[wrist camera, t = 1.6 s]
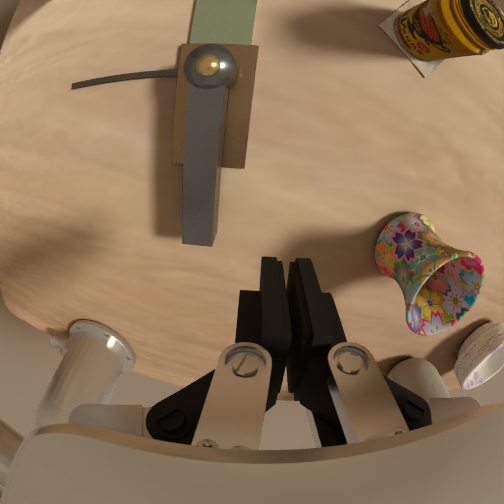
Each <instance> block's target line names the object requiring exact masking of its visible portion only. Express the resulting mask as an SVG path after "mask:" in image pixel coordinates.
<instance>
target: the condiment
mask: <svg viewBox="0 0 504 504" xmlns="http://www.w3.org/2000/svg"><path fill="white" fill-rule="evenodd" d="M379 27H380V28H381V29H382V30H383V31H384V32H385V33H386V34H387V35H388V36H389V37H390V38H391V39H392V40H393V41H394V42H395V43H396V44H397V46H398V47H399V48H400V49H401V50H402V51H403V52H404V53H405V54H406V56H407V57H408V58H409V59H410V60H411V61H412V62H413V63H414V64H415V66H416V67H417V68H418V69H419V70H420V71H421V73H422V74H423V75H424V77H425V78H427V77H428V76H429V75H430V74H431V73H432V71H433V70H434V69H435V68H436V67H437V66H438V65H439V64H440V63H441V62H442V61H443V60H444V59H447V58H454V57H462V56H472V55H482V54H485V53H487V52H489V50H495V49H504V16H503V15H502V13H501V11H500V10H499V8H498V7H497V6H496V5H495V4H494V2H493V1H492V0H426V1H424V2H423V1H422V0H409V1H408V2H407V3H406V4H404V5H403V6H402V7H400V8H399V9H398V10H397V11H395V12H394V13H393V14H392V15H390V16H389V17H388V18H387V19H386V20H384V21H383V22H382V23H381V24H380V25H379Z"/></svg>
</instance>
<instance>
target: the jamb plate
mask: <svg viewBox="0 0 504 504" xmlns="http://www.w3.org/2000/svg"><path fill="white" fill-rule="evenodd" d="M204 44H218V45H221V46H223V47H225V48H227V49H228V50H229V51H230V52H231V54H232V55H233V57H234V60H235V62H236V64H237V68H238V74H237V77H236V79H235V81H234V83H233V84H232V85H231V86H230V87H228V89H229V92H228V101H227V111H226V121H225V131H224V142H223V153H222V165H221V166H223V167H234V168H245V158H246V149H247V140H248V131H249V122H250V113H251V104H252V96H253V88H254V79H255V71H256V63H257V55H258V47H259V46H255V45H242V44H221V43H194V44H182V45H181V52H180V60H179V68H178V70H160V71H147V72H137V73H129V74H121V75H114V76H108V77H102V78H96V79H91V80H86V81H81V82H77V83H73V84H72V89H74V88H79V87H84V86H89V85H94V84H100V83H106V82H112V81H120V80H128V79H137V78H148V77H162V76H178V77H177V86H176V97H175V109H174V123H173V140H172V163H175V164H183V157H184V138H185V123H186V110H187V99H188V88H189V84H190V83H189V82H188V80H187V79H186V77H185V75H184V69H183V68H184V62H185V60H186V57H187V56H188V55H189V53H190V52H191V51H192V50H194V49H195V48H197V47H199V46H201V45H204Z"/></svg>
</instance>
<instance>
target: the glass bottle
mask: <svg viewBox="0 0 504 504" xmlns="http://www.w3.org/2000/svg"><path fill="white" fill-rule="evenodd" d="M387 378H389V379H391V380H392V381H394V382H396V383H398V384H399V385H401V386H403V387H405V388H406V389H408V390H410V391H412V392H414V393H415V394H417V395H419V396H420V397H422V398H423V399H424V400H425V401H427V400H428V399H429V398H450V396H449V394H448V392H447V390H446V388H445V386H444V383H443V381H442V379H441V377H440V375H439V373H438V371H437V370H436V368H435V367H434V366H433V365H432V364H431V363H430V362H428V361H427V360H424V359H421V358H411V359H406V360H404V361H402V362H400V363H398V364H397V365H395V366H394V368H393V369H392V370H391V371H390V372H389V374H388V376H387Z"/></svg>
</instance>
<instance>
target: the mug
mask: <svg viewBox="0 0 504 504" xmlns="http://www.w3.org/2000/svg"><path fill="white" fill-rule="evenodd" d="M375 260H376V264H377V266H378V268H379V270H380V271H381V272H382V273H383V274H385V275H386V276H388V277H391V278H393V279H394V280H396V282H397V283H398V284H399V286H400V288H401V290H402V292H403V295H404V299H405V305H406V321H407V324H408V326H409V328H410V329H411V330H412V331H413V332H414V333H416V334H419V335H433V334H437V333H440V332H442V331H444V330H446V329H448V328H450V327H451V326H453V325H454V324H456V323H457V322H458V321H459V320H460V319H462V318H463V317H464V316H465V315H466V313H467V312H468V311H469V310H470V309H471V307H472V306H473V304H474V303H475V301H476V300H477V298H478V296H479V294H480V291H481V288H482V285H483V281H484V267H483V263H482V261H481V259H480V258H479V257H478V256H477V255H476V254H474V253H472V252H469V251H462V250H458V249H455V248H453V247H451V246H449V245H447V244H445V243H444V242H443V241H442V240H441V239H440V238H439V237H438V236H437V235H436V233H435V229H434V226H433V224H432V223H431V221H430V220H429V219H428V218H427V217H426V216H424V215H422V214H419V213H406V214H402V215H400V216H398V217H396V218H395V219H393V220H392V221H391V222H389V223H388V224H387V225H386V227H385V228H384V229H383V231H382V232H381V234H380V236H379V238H378V240H377V243H376V247H375Z"/></svg>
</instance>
